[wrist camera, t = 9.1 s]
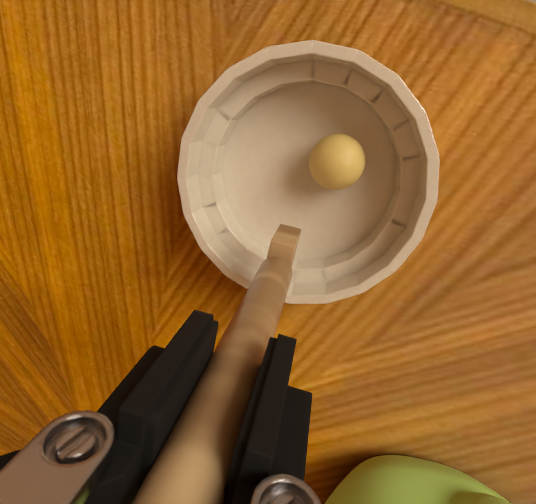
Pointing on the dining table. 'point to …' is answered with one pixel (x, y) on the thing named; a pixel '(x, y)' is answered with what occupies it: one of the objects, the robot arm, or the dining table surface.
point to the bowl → (308, 169)
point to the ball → (337, 161)
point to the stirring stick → (223, 391)
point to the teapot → (410, 484)
